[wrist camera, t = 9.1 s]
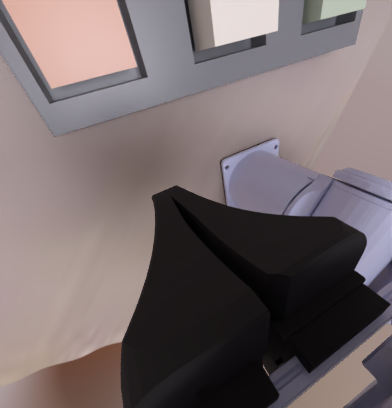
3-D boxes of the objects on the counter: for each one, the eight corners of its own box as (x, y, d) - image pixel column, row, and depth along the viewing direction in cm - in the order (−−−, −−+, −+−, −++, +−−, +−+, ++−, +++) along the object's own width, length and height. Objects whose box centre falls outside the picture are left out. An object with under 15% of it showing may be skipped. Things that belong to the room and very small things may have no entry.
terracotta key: (129, 68, 14) (137, 66, 12) (58, 86, 13) (51, 88, 11) (95, -35, 11) (96, -63, 9) (-1, -22, 10) (-27, -51, 8)
